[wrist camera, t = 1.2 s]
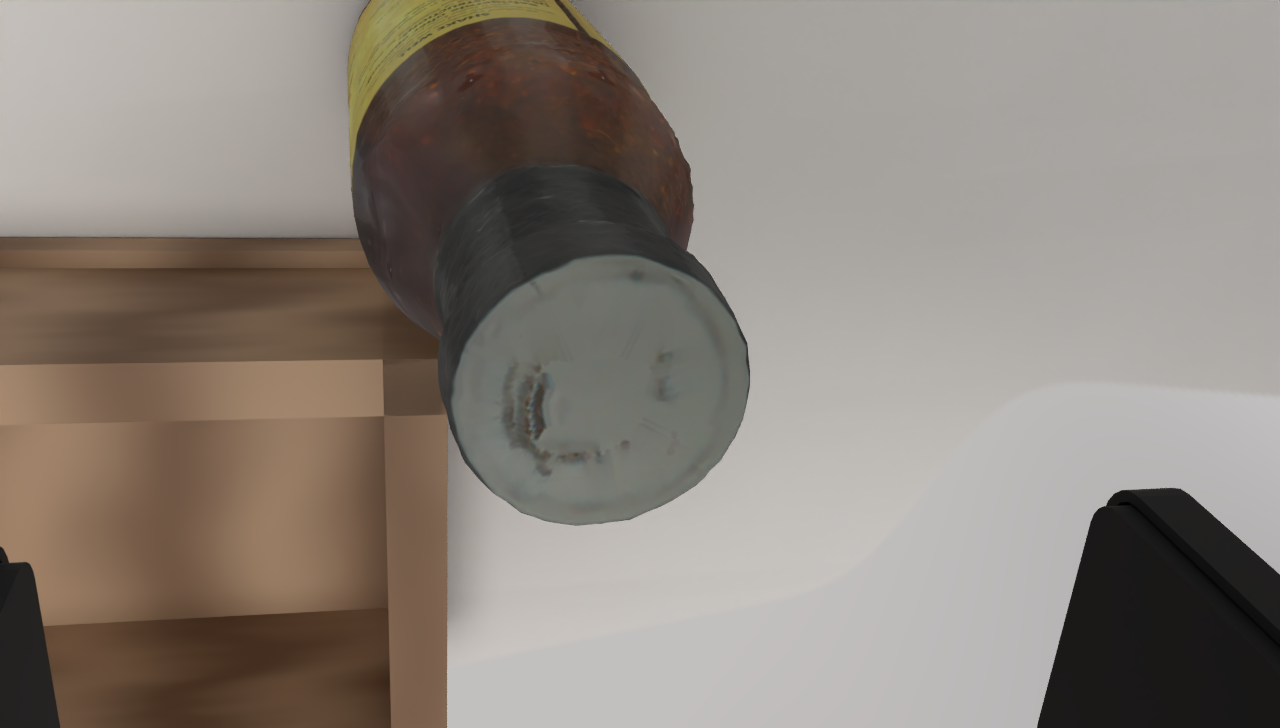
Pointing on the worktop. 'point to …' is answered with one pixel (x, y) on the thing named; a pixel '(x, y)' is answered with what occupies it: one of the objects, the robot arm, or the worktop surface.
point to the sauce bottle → (542, 253)
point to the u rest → (224, 482)
